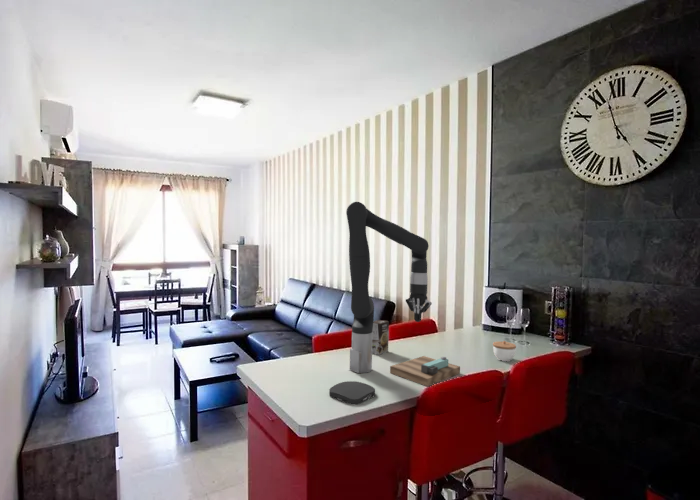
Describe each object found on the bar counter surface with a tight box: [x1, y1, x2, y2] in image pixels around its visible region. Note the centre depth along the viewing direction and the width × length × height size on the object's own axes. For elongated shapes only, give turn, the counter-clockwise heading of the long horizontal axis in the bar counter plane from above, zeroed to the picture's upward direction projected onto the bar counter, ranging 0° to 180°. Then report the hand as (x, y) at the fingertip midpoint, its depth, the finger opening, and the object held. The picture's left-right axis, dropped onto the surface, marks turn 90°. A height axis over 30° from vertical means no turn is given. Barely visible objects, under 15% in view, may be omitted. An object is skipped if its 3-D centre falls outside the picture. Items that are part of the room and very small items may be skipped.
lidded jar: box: [492, 340, 517, 362], centre depth 193 cm, size 11×11×9 cm
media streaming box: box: [328, 380, 376, 405], centre depth 146 cm, size 15×15×3 cm
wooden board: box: [389, 355, 461, 387], centre depth 171 cm, size 24×20×6 cm
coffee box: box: [372, 319, 390, 356], centre depth 202 cm, size 9×6×16 cm
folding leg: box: [421, 356, 449, 374], centre depth 168 cm, size 16×3×4 cm, turn 132°
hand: (417, 321), depth 172 cm, fingers closed
